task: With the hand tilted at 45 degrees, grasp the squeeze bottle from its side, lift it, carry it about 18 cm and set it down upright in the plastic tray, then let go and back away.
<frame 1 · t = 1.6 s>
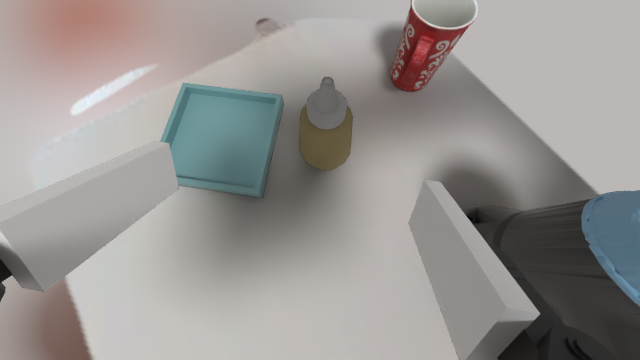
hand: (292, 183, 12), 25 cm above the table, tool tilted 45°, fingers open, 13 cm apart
tray: (223, 140, 40), on the table
mug: (404, 83, 44), on the table
squeeze bottle: (324, 155, 40), on the table
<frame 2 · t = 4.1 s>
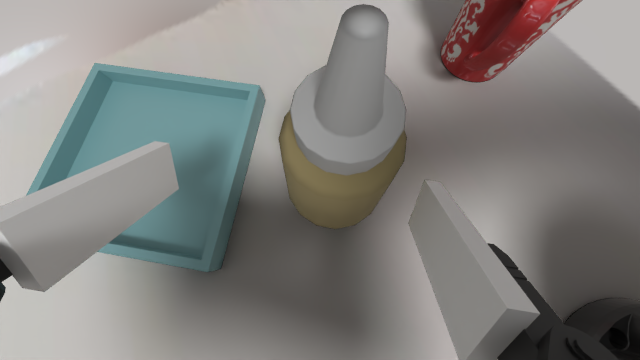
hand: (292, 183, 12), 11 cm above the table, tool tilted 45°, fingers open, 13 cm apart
tray: (161, 162, 24), on the table
mug: (463, 68, 27), on the table
squeeze bottle: (332, 190, 23), on the table
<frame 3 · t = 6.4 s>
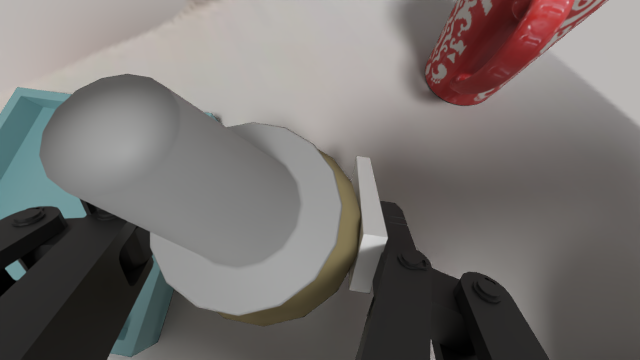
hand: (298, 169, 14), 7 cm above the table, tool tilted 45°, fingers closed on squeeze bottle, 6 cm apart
tray: (95, 205, 20), on the table
mug: (451, 89, 24), on the table
squeeze bottle: (298, 237, 19), on the table, touching gripper
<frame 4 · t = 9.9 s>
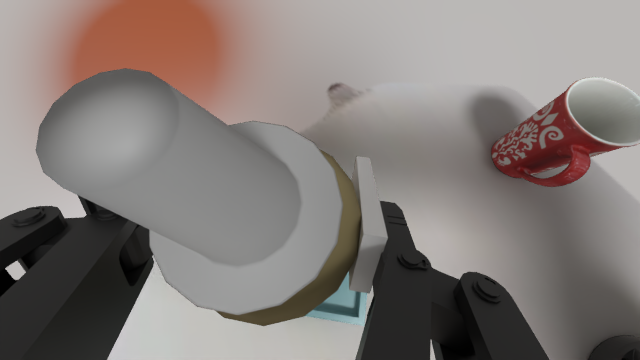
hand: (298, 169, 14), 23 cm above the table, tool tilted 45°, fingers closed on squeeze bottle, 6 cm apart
tray: (307, 242, 34), on the table
mug: (508, 166, 38), on the table
squeeze bottle: (298, 236, 19), point 16 cm above the table, touching gripper
when the fingers open (9 cm above the table, at t = 13.2 s): squeeze bottle drops 1 cm, resting on tray.
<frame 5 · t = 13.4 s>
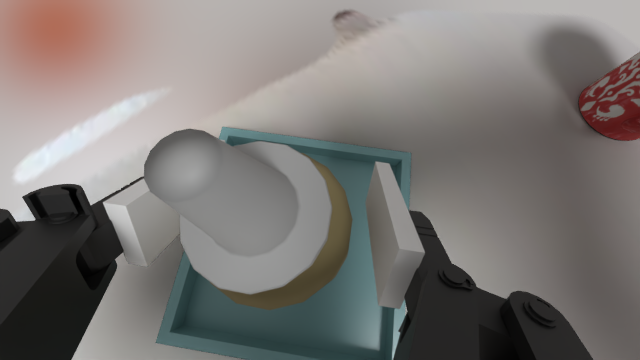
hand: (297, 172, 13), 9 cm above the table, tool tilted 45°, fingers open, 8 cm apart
tray: (300, 238, 21), on the table
mug: (605, 124, 25), on the table
squeeze bottle: (300, 238, 21), point 1 cm above the table, touching tray
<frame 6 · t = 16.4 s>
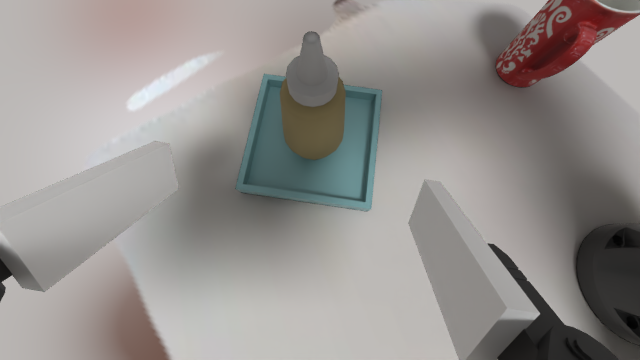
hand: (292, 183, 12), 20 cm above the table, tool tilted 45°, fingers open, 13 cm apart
tray: (313, 143, 35), on the table
mug: (511, 77, 38), on the table
squeeze bottle: (313, 142, 34), point 1 cm above the table, touching tray
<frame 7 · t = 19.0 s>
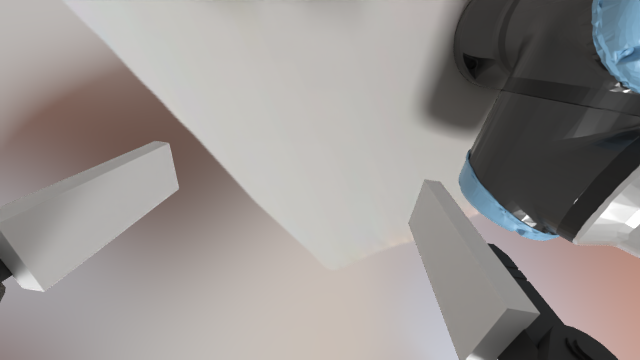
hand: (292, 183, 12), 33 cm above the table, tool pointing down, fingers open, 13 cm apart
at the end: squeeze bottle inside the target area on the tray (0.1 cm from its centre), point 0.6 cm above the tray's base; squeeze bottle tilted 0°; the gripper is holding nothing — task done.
